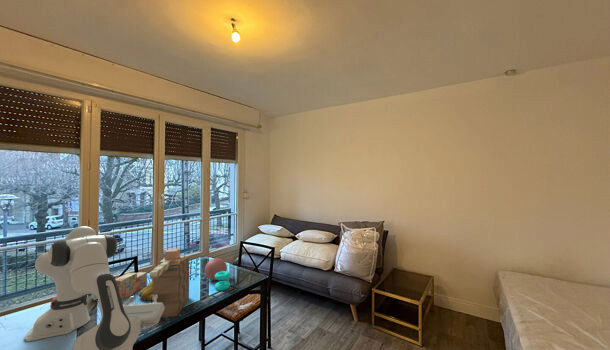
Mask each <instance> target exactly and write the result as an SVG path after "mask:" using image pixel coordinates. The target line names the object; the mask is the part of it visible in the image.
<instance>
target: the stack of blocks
mask: <svg viewBox="0 0 610 350" xmlns="http://www.w3.org/2000/svg"><path fill="white" fill-rule="evenodd" d="M115 279H116V282H117V285H118V289H119V292H120V296H121V300H122V301H123V300H125V299H126V298H128V297H131V295H133V294H135V293H136V292H138V291H139V290H142V289H143V288H144V287H147V285H148V274H147V272H145V271H144V272H143V271H141V272H140V271H139V272H127V273H125V274H123V275H121V276H119V277H117V278H115ZM124 298H125V299H124Z"/></svg>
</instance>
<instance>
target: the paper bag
mask: <svg viewBox="0 0 610 350" xmlns="http://www.w3.org/2000/svg"><path fill="white" fill-rule="evenodd" d="M184 256H185V259H184V260H183V261H182V262H181V263H180V264H179V265H171V266H170V267H169V268H168V269H167V270H166V271H164V272H163V273H162V274H161V275H160V276H159V277H158V278H154V279H152V282H153V295H158V298H157V303H160V302H162V303H163V304H164V311H163V313H162V315H161V317H160V318H169V317H178V315H179V313H180V312H181V311H182V310H183V308H184V306H185V305H186V303H187V302H188V301H189V298H190V255H184ZM158 266H159V264H158V265H156V266H155V267H154V268H152V270H154V269H155V268H156V267H158Z"/></svg>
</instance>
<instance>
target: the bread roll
mask: <svg viewBox="0 0 610 350" xmlns="http://www.w3.org/2000/svg"><path fill="white" fill-rule="evenodd" d="M138 295H139V297H140V298H141V299H142V300H143V301H147V300H148V301H153V299H152V297H153V281H150V282H149V284H148V283H147V286H145V287H143V288H142V289H140V291H139V293H138Z"/></svg>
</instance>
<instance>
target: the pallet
mask: <svg viewBox="0 0 610 350" xmlns="http://www.w3.org/2000/svg"><path fill="white" fill-rule="evenodd" d="M185 256H186V255H180V257H179V258H178V259H177V260H165V257H164V258H163V259H161V260H160V261H159V262H158V265H159V266H158V265H157V266H158V267H156V266H155V267H156V268H155V267H154V268H155V269H154V268H153V269H154V270H153V269H151V271H150V272H149V279H150V280H151V279H152V280H153V279H154V278H158V277H159V276H160V275H161V274H162V273H163V272H164V271H166V270H167V269H168V268H169V267H170V266H171V265H179V264H180V263H181V262H182V261H183V260H184V259H185Z"/></svg>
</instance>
